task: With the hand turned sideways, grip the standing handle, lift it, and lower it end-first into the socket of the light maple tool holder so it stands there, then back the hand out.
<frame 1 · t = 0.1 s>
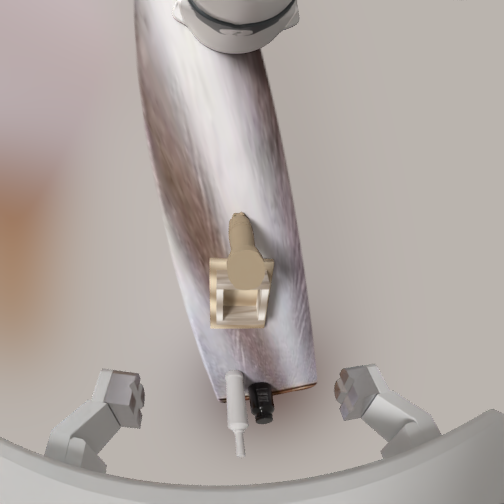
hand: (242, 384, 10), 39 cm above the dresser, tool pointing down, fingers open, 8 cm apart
bottle: (233, 373, 75), on the dresser
supplement bottle: (259, 386, 80), on the dresser
tool holder: (239, 294, 59), on the dresser
handle: (238, 219, 50), on the dresser
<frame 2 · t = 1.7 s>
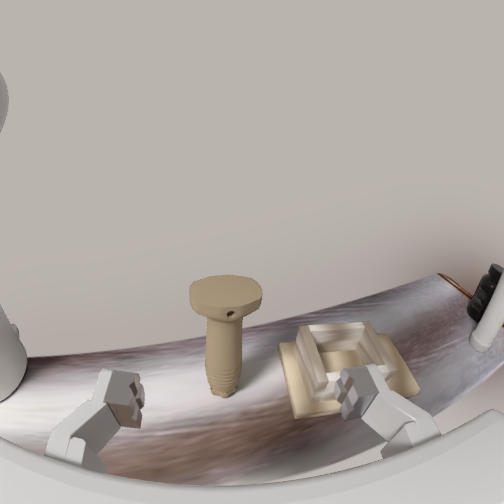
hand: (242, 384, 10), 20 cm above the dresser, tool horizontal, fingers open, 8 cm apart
bottle: (477, 345, 39), on the dresser
supplement bottle: (477, 316, 47), on the dresser
tool holder: (348, 374, 35), on the dresser
handle: (222, 389, 32), on the dresser
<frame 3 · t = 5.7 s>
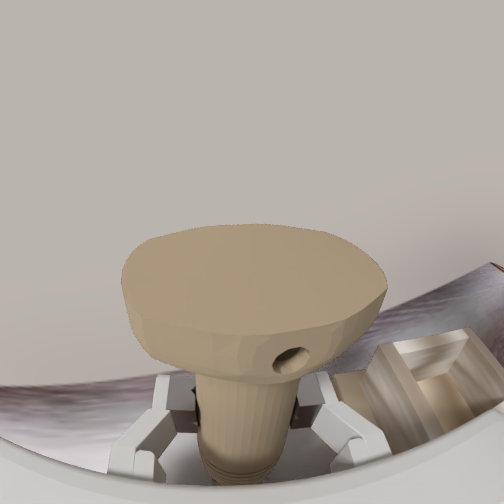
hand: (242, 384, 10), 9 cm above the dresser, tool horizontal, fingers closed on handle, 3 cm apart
tool holder: (442, 414, 17), on the dresser
handle: (237, 473, 14), on the dresser, touching gripper
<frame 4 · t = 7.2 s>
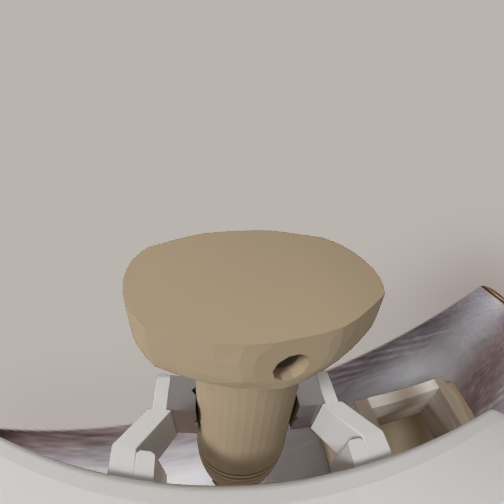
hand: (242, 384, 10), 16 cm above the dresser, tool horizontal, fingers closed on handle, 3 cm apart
tool holder: (412, 448, 19), on the dresser
handle: (236, 474, 14), point 6 cm above the dresser, touching gripper
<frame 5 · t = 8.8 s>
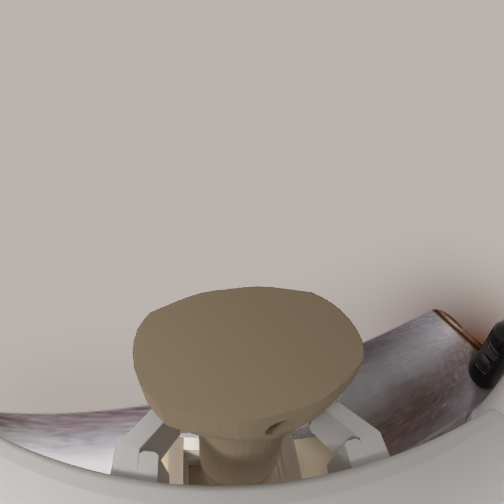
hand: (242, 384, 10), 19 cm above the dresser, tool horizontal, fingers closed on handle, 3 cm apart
bottle: (476, 427, 23), on the dresser
supplement bottle: (482, 376, 31), on the dresser
tool holder: (255, 497, 19), on the dresser
handle: (234, 482, 15), point 8 cm above the dresser, touching gripper
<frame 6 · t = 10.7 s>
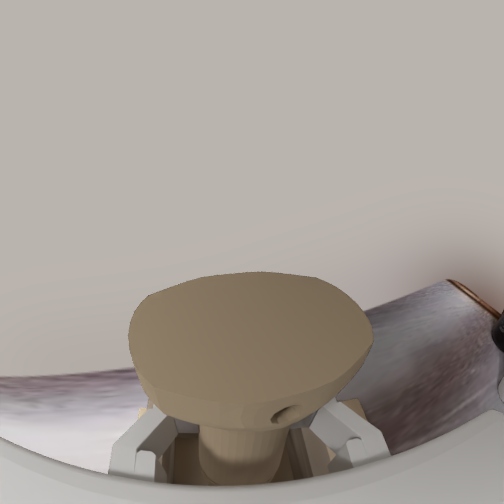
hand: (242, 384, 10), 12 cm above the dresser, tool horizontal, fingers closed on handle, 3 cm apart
tool holder: (261, 482, 15), on the dresser
handle: (236, 485, 14), point 1 cm above the dresser, touching gripper, tool holder
when the fingers open (12 cm above the dresser, at t = 10.7 s): handle stays where it is, resting on tool holder.
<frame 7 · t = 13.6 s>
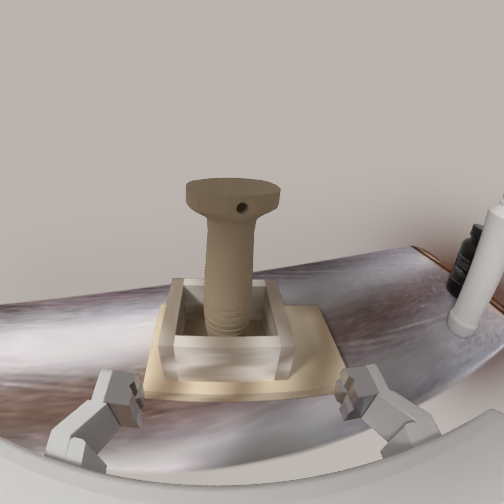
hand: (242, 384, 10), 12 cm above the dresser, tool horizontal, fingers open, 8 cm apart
bottle: (459, 328, 31), on the dresser
supplement bottle: (460, 293, 39), on the dresser
tool holder: (244, 351, 27), on the dresser
handle: (226, 348, 26), point 1 cm above the dresser, touching tool holder
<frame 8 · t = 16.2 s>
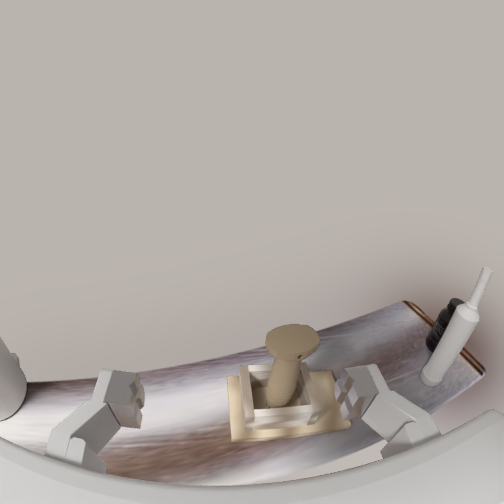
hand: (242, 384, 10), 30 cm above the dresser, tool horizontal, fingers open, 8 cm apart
bottle: (429, 378, 44), on the dresser
supplement bottle: (436, 347, 52), on the dresser
tool holder: (286, 406, 40), on the dresser
handle: (276, 406, 39), point 1 cm above the dresser, touching tool holder
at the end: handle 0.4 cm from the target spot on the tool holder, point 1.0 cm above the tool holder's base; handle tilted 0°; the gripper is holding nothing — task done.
